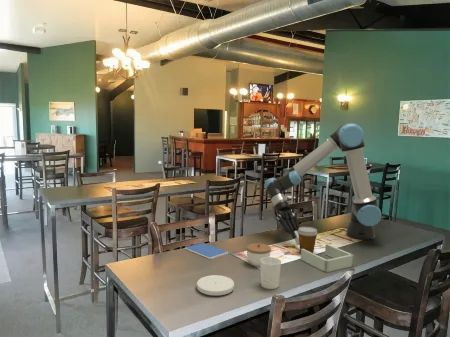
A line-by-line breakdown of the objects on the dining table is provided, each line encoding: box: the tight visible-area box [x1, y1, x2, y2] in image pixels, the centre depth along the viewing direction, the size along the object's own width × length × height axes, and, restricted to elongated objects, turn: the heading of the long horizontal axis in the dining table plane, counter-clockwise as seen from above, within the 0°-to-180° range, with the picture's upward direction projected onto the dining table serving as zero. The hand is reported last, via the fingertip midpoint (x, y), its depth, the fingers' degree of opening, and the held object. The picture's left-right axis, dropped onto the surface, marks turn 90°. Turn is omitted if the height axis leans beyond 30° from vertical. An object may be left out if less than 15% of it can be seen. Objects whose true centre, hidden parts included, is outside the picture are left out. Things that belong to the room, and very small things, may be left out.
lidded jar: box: [246, 242, 272, 267], centre depth 159 cm, size 11×11×9 cm
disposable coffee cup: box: [298, 226, 318, 254], centre depth 174 cm, size 10×10×12 cm
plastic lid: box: [196, 274, 235, 297], centre depth 135 cm, size 14×14×2 cm
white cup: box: [259, 256, 282, 290], centre depth 138 cm, size 8×8×10 cm
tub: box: [300, 243, 355, 273], centre depth 163 cm, size 16×16×5 cm
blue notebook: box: [184, 242, 229, 260], centre depth 175 cm, size 19×13×1 cm, turn 45°
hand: (299, 243), depth 179 cm, fingers closed
